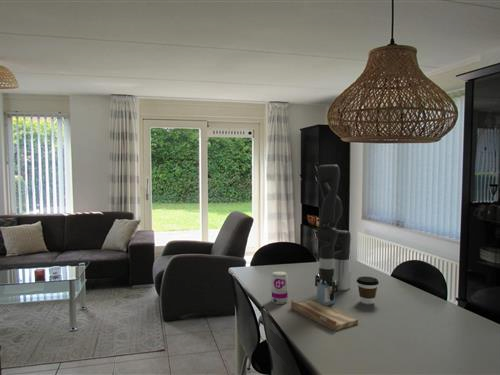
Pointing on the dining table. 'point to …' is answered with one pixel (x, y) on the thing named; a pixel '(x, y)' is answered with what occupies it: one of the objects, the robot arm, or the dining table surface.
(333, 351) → the dining table surface
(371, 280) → the coffee cup
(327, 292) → the carton
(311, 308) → the wooden plank
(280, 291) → the supplement can
